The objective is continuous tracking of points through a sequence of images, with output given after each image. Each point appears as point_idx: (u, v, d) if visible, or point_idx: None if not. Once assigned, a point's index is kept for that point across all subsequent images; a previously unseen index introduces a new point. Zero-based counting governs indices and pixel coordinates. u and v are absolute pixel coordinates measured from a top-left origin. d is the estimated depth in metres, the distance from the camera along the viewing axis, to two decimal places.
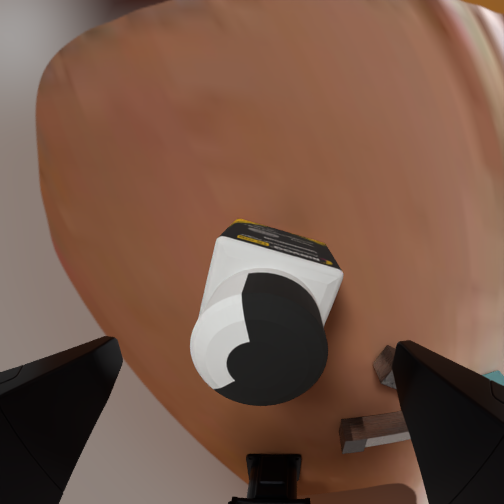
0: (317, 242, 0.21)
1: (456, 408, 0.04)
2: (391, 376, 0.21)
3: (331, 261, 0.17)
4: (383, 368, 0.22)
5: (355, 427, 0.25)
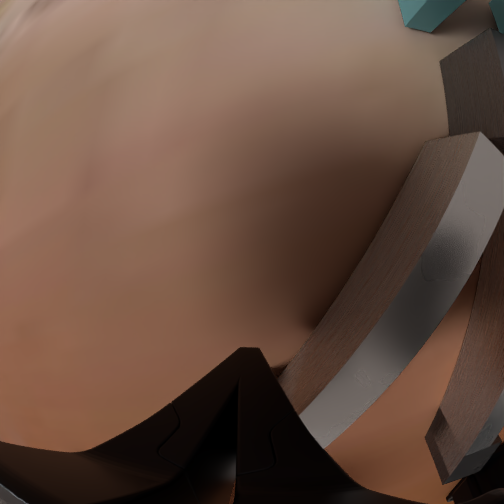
0: None
1: None
2: None
3: None
4: None
5: (442, 441, 0.09)
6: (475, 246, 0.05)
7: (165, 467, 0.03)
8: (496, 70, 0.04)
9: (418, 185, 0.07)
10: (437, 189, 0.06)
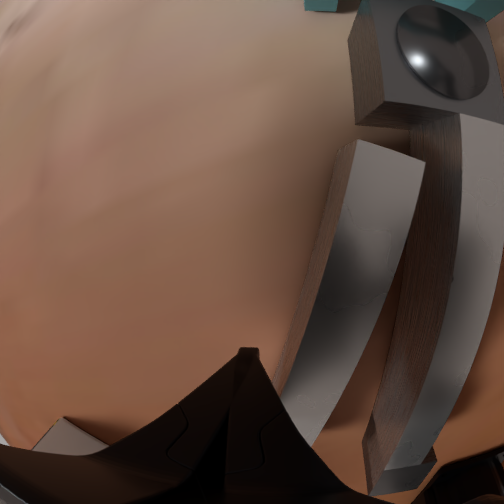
0: None
1: None
2: None
3: None
4: None
5: (371, 449, 0.09)
6: (385, 263, 0.06)
7: (175, 470, 0.03)
8: (372, 31, 0.05)
9: (329, 204, 0.07)
10: (333, 213, 0.06)
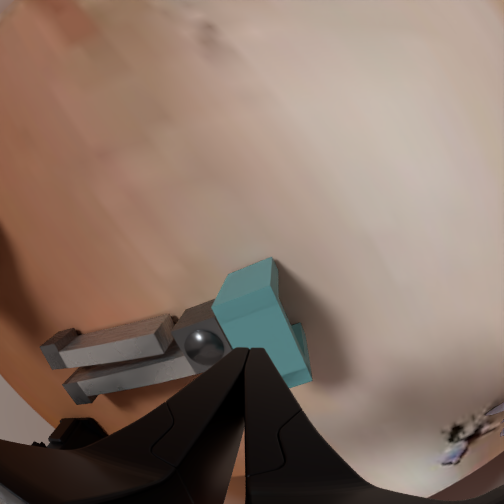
0: None
1: None
2: (48, 359, 0.19)
3: None
4: None
5: (80, 372, 0.21)
6: (134, 354, 0.18)
7: (157, 466, 0.03)
8: (196, 321, 0.17)
9: (146, 324, 0.19)
10: (138, 332, 0.18)
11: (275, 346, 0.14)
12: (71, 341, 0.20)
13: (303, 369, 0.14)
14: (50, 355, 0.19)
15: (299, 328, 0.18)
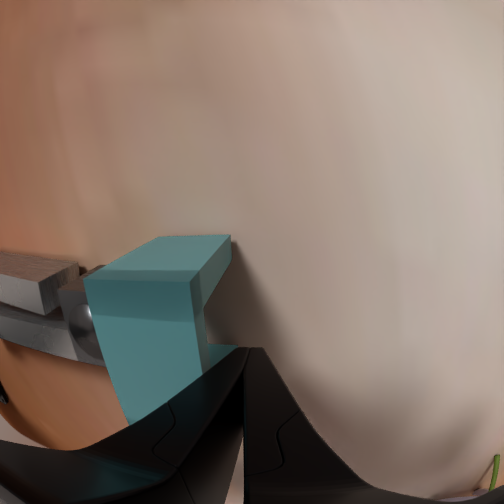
0: None
1: None
2: None
3: None
4: None
5: None
6: (14, 300, 0.10)
7: (158, 466, 0.03)
8: None
9: (44, 265, 0.12)
10: (28, 271, 0.10)
11: (171, 386, 0.07)
12: None
13: None
14: None
15: None
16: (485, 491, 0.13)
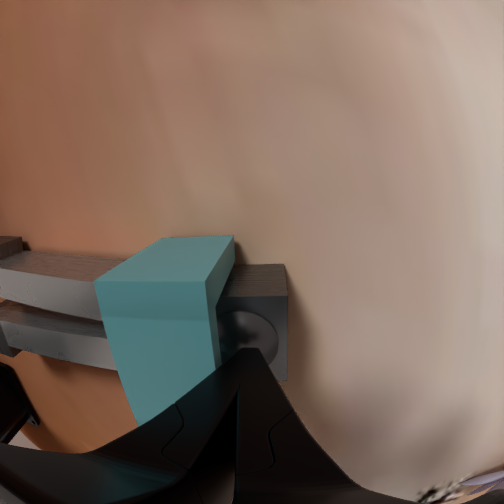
0: None
1: None
2: None
3: None
4: None
5: (10, 305, 0.12)
6: None
7: (169, 468, 0.03)
8: (247, 293, 0.09)
9: None
10: None
11: (183, 386, 0.07)
12: (10, 255, 0.11)
13: None
14: None
15: None
16: None
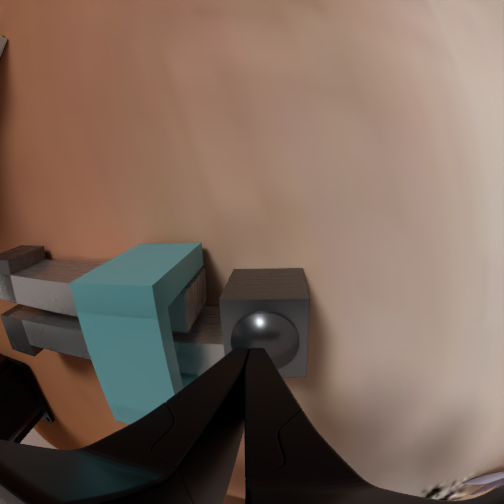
0: None
1: None
2: None
3: None
4: None
5: None
6: None
7: (158, 466, 0.03)
8: (272, 296, 0.10)
9: None
10: None
11: (142, 374, 0.08)
12: (34, 264, 0.12)
13: None
14: None
15: None
16: None
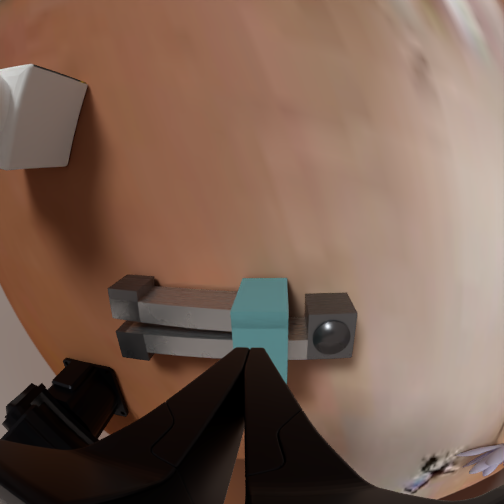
0: None
1: None
2: (114, 305, 0.18)
3: (41, 68, 0.13)
4: None
5: None
6: None
7: (157, 466, 0.03)
8: (337, 312, 0.17)
9: None
10: None
11: None
12: (150, 291, 0.20)
13: None
14: (121, 302, 0.18)
15: None
16: (502, 443, 0.21)
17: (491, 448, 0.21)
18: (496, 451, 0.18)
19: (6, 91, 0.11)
